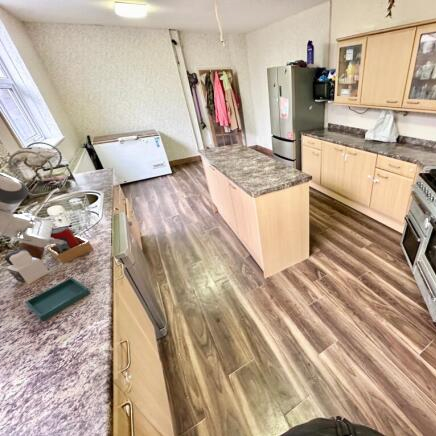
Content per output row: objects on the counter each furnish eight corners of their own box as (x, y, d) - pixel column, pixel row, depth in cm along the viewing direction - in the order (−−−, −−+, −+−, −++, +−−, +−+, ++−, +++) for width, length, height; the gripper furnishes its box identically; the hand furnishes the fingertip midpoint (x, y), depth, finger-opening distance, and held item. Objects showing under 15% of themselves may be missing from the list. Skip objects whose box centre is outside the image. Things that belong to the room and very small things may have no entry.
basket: (62, 263, 100) (57, 255, 98) (52, 256, 105) (46, 248, 103) (93, 249, 108) (88, 241, 106) (82, 242, 114) (77, 235, 111)
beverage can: (59, 255, 104) (43, 233, 99) (74, 246, 110) (60, 225, 104) (70, 257, 103) (55, 234, 97) (85, 248, 109) (72, 226, 103)
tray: (42, 321, 74) (39, 317, 73) (27, 306, 80) (24, 301, 79) (90, 293, 84) (87, 288, 83) (74, 281, 90) (71, 276, 89)
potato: (25, 265, 100) (13, 250, 96) (24, 254, 107) (13, 240, 103) (49, 257, 105) (38, 242, 101) (47, 247, 112) (37, 233, 108)
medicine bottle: (17, 281, 91) (-4, 257, 86) (39, 269, 97) (21, 246, 91) (28, 285, 89) (8, 260, 83) (50, 272, 95) (32, 248, 89)
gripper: (18, 230, 86) (66, 241, 96) (27, 211, 100) (68, 223, 110) (9, 245, 86) (58, 254, 96) (19, 224, 100) (61, 234, 110)
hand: (63, 237), depth 103 cm, fingers open, 8 cm apart
